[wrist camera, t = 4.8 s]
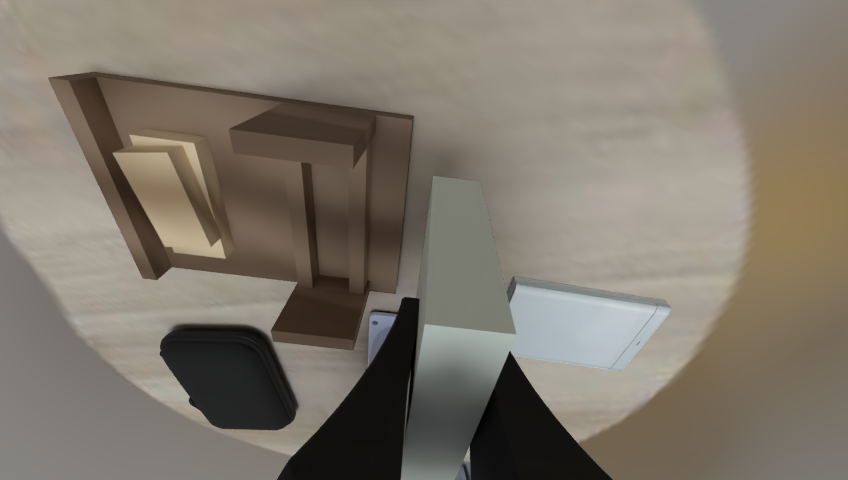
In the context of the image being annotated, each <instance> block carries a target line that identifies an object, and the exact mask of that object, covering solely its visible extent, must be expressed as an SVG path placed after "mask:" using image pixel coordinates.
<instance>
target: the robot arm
mask: <svg viewBox="0 0 848 480" xmlns="http://www.w3.org/2000/svg"><path fill="white" fill-rule="evenodd" d="M419 300H420V299H418V298H410V297H404V298H402V301H401V305H400V308H399V311H398V313H397V314H391V313H383V312H372V313H371V314H370V317H369V340H368V365H367V370H366V371H365V373H364V374H363V376H362V377H361V378H360V380H359V381H358V383H357V384H356V385H355V386H354V388H353V389H352V390H351V392H350V393H349V394H348V396H347V397H346V398H345V399H344V401H343V402H342V403H341V404H340V406H339V407H338V408H337V409H336V410H335V411H334V413H333V414H332V415H331V416H330V417H329V418H328V419H327V421H326V422H325V423H324V424H323V425H322V426H321V427H320V429H319V430H318V431H317V432H316V433H315V434H314V435H313V436H312V437H311V438H310V439H309V440H308V441H307V442H306V443H305V444H304V445H303V446H302V447H301V448H300V449H299V450H298V451H297V452H296V453H295V454H294V455H293V456H292V457H291V458H290V460H289V461H288V463H287V464H286V466H285V467H284V469H283V470H282V472H281V474H280V475H279V477H278V479H277V480H401V470H402V456H403V443H404V430H405V417H406V404H407V392H408V383H409V378H410V372H411V366H412V360H413V353H414V347H415V340H416V334H417V327H418V317H419ZM375 321H377V322H375ZM455 480H612V479H611V478H610V477H609V476H608V475H607V474H606V473H605V472H604V471H603V470H602V469H601V468H600V467H599V466H598V465H597V464H596V463H595V462H594V461H593V460H592V459H591V457H589V455H588V454H587V453H586V452H585V451H584V450H583V449H582V448H581V447H580V446H579V444H578V443H577V442H576V441H575V440H574V438H573V437H572V436H571V435H570V434H569V433H568V432H567V430H566V429H565V428H564V427H563V426H562V425H561V423H560V422H559V421H558V420H557V419H556V417H555V416H554V415H553V414H552V412H551V411H550V410H549V408H548V407H547V406H546V405H545V403H544V402H543V400H542V399H541V398H540V396H539V395H538V394H537V392H536V391H535V389H534V388H533V387H532V385H531V384H530V382H529V381H528V379H527V378H526V376H525V374H524V373H523V371H522V370H521V368H520V367H519V365H518V363H517V362H516V360H515V358H514V357H513V355H512V353H511V351H509V354H508V356H507V358H506V361H505V363H504V365H503V368H502V370H501V372H500V375H499V377H498V380H497V382H496V384H495V387H494V389H493V391H492V394H491V396H490V398H489V401H488V403H487V406H486V408H485V410H484V413H483V415H482V417H481V420H480V422H479V424H478V427H477V429H476V432H475V434H474V436H473V439H472V441H471V443H470V462H467V461H463V462H462V465H461V467H460V469H459V472H458V474H457V476H456V479H455Z"/></svg>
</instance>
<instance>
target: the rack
mask: <svg viewBox="0 0 848 480" xmlns="http://www.w3.org/2000/svg"><path fill="white" fill-rule="evenodd" d="M48 79H49V81H50V83H51V86H52V88H53V90H54V92H55V94H56V96H57V98H58V100H59V102H60V105H61V107H62V109H63V111H64V113H65V115H66V117H67V119H68V121H69V124H70V126H71V128H72V130H73V132H74V134H75V136H76V138H77V140H78V143H79V145H80V147H81V149H82V151H83V153H84V155H85V157H86V159H87V162H88V164H89V166H90V168H91V170H92V172H93V174H94V176H95V178H96V181H97V183H98V185H99V187H100V189H101V191H102V193H103V195H104V197H105V200H106V202H107V204H108V206H109V208H110V210H111V212H112V214H113V216H114V219H115V221H116V223H117V225H118V227H119V229H120V231H121V233H122V235H123V238H124V240H125V242H126V244H127V246H128V248H129V250H130V252H131V254H132V257H133V259H134V261H135V263H136V265H137V267H138V269H139V271H140V273H141V275H142V278H144V279H153V280H158V279H159V278H160V277H161V276H162V275H163V274H164V273H166V272H167V271H168V270H169V269H170V268H171V267H176V268H184V269H192V270H201V271H209V272H217V273H226V274H234V275H242V276H251V277H259V278H267V279H276V280H284V281H292V282H298V283H297V285H296V287H295V289H294V290H293V292H292V294H291V296H290V297H289V299H288V301H287V303H286V305H285V306H284V308H283V310H282V312H281V313H280V315H279V317H278V319H277V321H276V322H275V324H274V326H273V328H272V329H271V333H272V338H273V341H275V342H283V343H292V344H301V345H310V346H319V347H327V348H336V349H345V350H354V346H355V343H356V339H357V335H358V332H359V328H360V324H361V320H362V317H363V313H364V309H365V306H366V302H367V298H368V295H369V291H376V292H384V293H392V294H395V293H396V287H397V278H398V268H399V258H400V248H401V238H402V228H403V218H404V208H405V198H406V188H407V178H408V168H409V158H410V148H411V138H412V128H413V117H414V116H409V115H402V114H395V113H388V112H380V111H373V110H366V109H358V108H351V107H344V106H337V105H329V104H322V103H315V102H308V101H300V100H293V99H286V98H278V97H271V96H264V95H257V94H249V93H242V92H235V91H228V90H220V89H213V88H206V87H198V86H191V85H184V84H177V83H169V82H162V81H155V80H148V79H140V78H133V77H126V76H118V75H111V74H104V73H97V72H90V73H82V74H74V75H66V76H58V77H50V78H48ZM144 129H150V130H158V131H165V132H173V133H180V134H188V135H195V136H203V137H207V138H208V142H209V146H210V150H211V154H212V158H213V162H214V166H215V170H216V174H217V178H218V182H219V186H220V190H221V194H222V198H223V202H224V206H225V210H226V214H227V218H228V222H229V226H230V230H231V234H232V238H233V242H234V246H235V249H234V251H233V252H232V253H231V254H230V255H229V256H228V257H227V258H226V259H224V258H215V257H207V256H199V255H191V254H182V253H174V251H173V248H172V247H165V246H164V244H163V242H162V241H161V239H160V237H159V235H158V234H157V232H156V230H155V228H154V226H153V225H152V223H151V221H150V219H149V217H148V216H147V214H146V212H145V210H144V208H143V207H142V205H141V203H140V201H139V200H138V198H137V196H136V194H135V192H134V191H133V189H132V187H131V185H130V183H129V182H128V180H127V178H126V176H125V175H124V173H123V171H122V169H121V167H120V166H119V164H118V162H117V160H116V158H115V157H114V155H113V152H116V151H118V150H121V149H124V148H126V147H129V146H133V144H132V141H131V138H130V136H129V134H132V133H135V132H138V131H141V130H144Z"/></svg>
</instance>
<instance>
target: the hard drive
mask: <svg viewBox="0 0 848 480" xmlns="http://www.w3.org/2000/svg"><path fill="white" fill-rule="evenodd" d="M507 297H508V301H509V305H510V309H511V314H512V318H513V322H514V326H515V330H516V337H515V339H514V342H513V344H512V347H511V349H510V351H511V353H512V355H513V356H518V357H525V358H532V359H538V360H545V361H551V362H559V363H565V364H572V365H579V366H586V367H593V368H600V369H608V370H615V371H621V370H622V369H624V367H625V366H626V365H627V364H628V363H629V361H630V360H631V359H632V358H633V357H634V356H635V354H636V353H637V352H638V351H639V350H640V348H641V347H642V346H643V345H644V344H645V342H646V341H647V340H648V339H649V338H650V337H651V335H652V334H653V333H654V332H655V330H656V329H657V328H658V327H659V326H660V324H661V323H662V322H663V321H664V319H665V318H666V317H667V316H668V314H669V313H670V310H671V307H670V305H669V304H668V303H667V302H666V301H664V300H658V299H651V298H646V297H640V296H633V295H627V294H621V293H615V292H609V291H603V290H596V289H590V288H584V287H578V286H571V285H565V284H559V283H553V282H547V281H540V280H534V279H528V278H522V277H515V276H514V278H513V280H512V283H511V285H510V287H509V290H508V292H507Z"/></svg>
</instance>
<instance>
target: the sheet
mask: <svg viewBox="0 0 848 480" xmlns="http://www.w3.org/2000/svg"><path fill="white" fill-rule="evenodd" d="M416 298H418V299H420V300H419V317H418V327H417V334H416V340H415V347H414V353H413V360H412V366H411V372H410V378H409V383H408V392H407V404H406V417H405V430H404V443H403V456H402V470H401V480H455V479H456V476H457V474H458V472H459V469H460V467H461V465H462V462H463V460H464V458H465V455H466V453H467V450H468V448H469V446H470V443H471V441H472V439H473V436H474V434H475V432H476V429H477V427H478V424H479V422H480V420H481V417H482V415H483V413H484V410H485V408H486V406H487V403H488V401H489V398H490V396H491V394H492V391H493V389H494V387H495V384H496V382H497V380H498V377H499V375H500V372H501V370H502V368H503V365H504V363H505V361H506V358H507V356H508V354H509V351H510V349H511V347H512V344H513V342H514V339H515V337H516V330H515V326H514V322H513V318H512V314H511V309H510V305H509V301H508V297H507V292H506V288H505V284H504V280H503V276H502V271H501V267H500V263H499V259H498V255H497V250H496V246H495V242H494V238H493V234H492V229H491V225H490V221H489V217H488V212H487V208H486V204H485V200H484V196H483V191H482V187H481V183H480V182H479V181H471V180H463V179H455V178H447V177H439V176H433V181H432V188H431V195H430V202H429V210H428V217H427V224H426V231H425V238H424V246H423V253H422V260H421V267H420V275H419V282H418V289H417V296H416Z"/></svg>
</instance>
